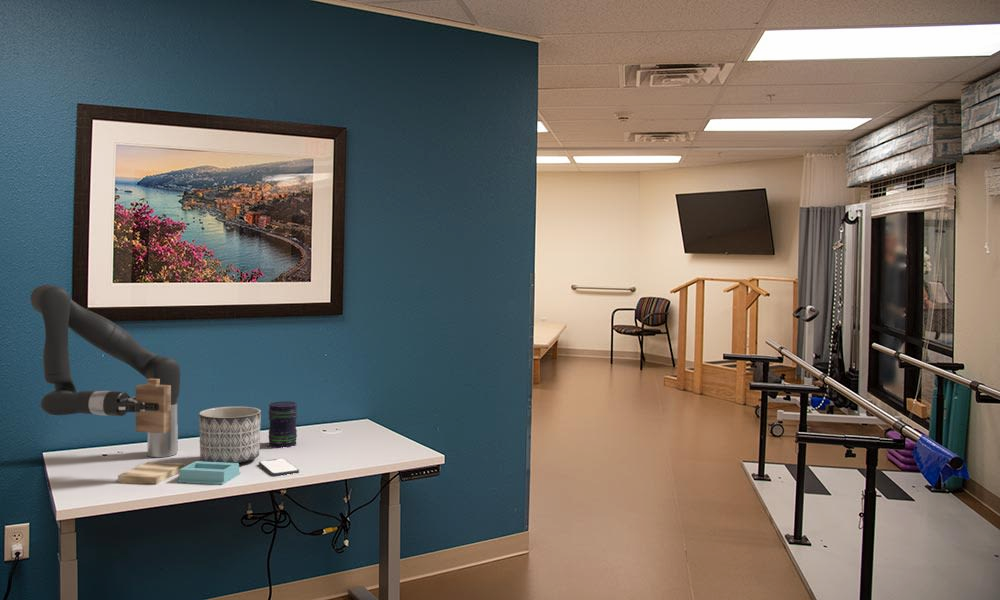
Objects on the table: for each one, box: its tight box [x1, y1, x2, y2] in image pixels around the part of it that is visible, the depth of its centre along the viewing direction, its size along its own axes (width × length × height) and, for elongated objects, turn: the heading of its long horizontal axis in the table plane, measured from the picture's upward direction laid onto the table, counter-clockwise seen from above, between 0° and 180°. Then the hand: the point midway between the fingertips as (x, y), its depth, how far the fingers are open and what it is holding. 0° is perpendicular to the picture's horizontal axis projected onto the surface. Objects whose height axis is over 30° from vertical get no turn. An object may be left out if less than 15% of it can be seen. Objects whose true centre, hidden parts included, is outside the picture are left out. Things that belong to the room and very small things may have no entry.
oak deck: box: [117, 461, 185, 485], centre depth 235 cm, size 16×12×2 cm
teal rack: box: [177, 460, 241, 486], centre depth 234 cm, size 12×14×4 cm
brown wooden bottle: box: [135, 378, 171, 434], centre depth 234 cm, size 4×9×16 cm, turn 84°
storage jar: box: [268, 401, 298, 449], centre depth 278 cm, size 10×10×15 cm
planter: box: [198, 406, 262, 464], centre depth 254 cm, size 19×19×16 cm
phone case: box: [258, 458, 300, 477], centre depth 246 cm, size 9×2×16 cm
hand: (161, 405), depth 234 cm, fingers closed on brown wooden bottle, 4 cm apart
